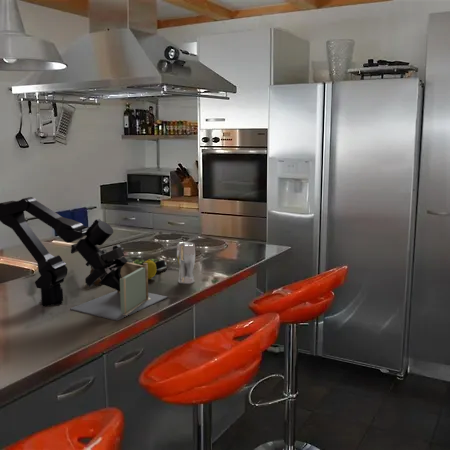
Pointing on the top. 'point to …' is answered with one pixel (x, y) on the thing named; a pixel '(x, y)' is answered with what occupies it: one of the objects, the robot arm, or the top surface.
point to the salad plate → (160, 264)
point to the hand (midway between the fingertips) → (124, 290)
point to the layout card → (114, 306)
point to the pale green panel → (132, 289)
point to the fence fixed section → (131, 268)
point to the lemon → (151, 268)
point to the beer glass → (186, 262)
